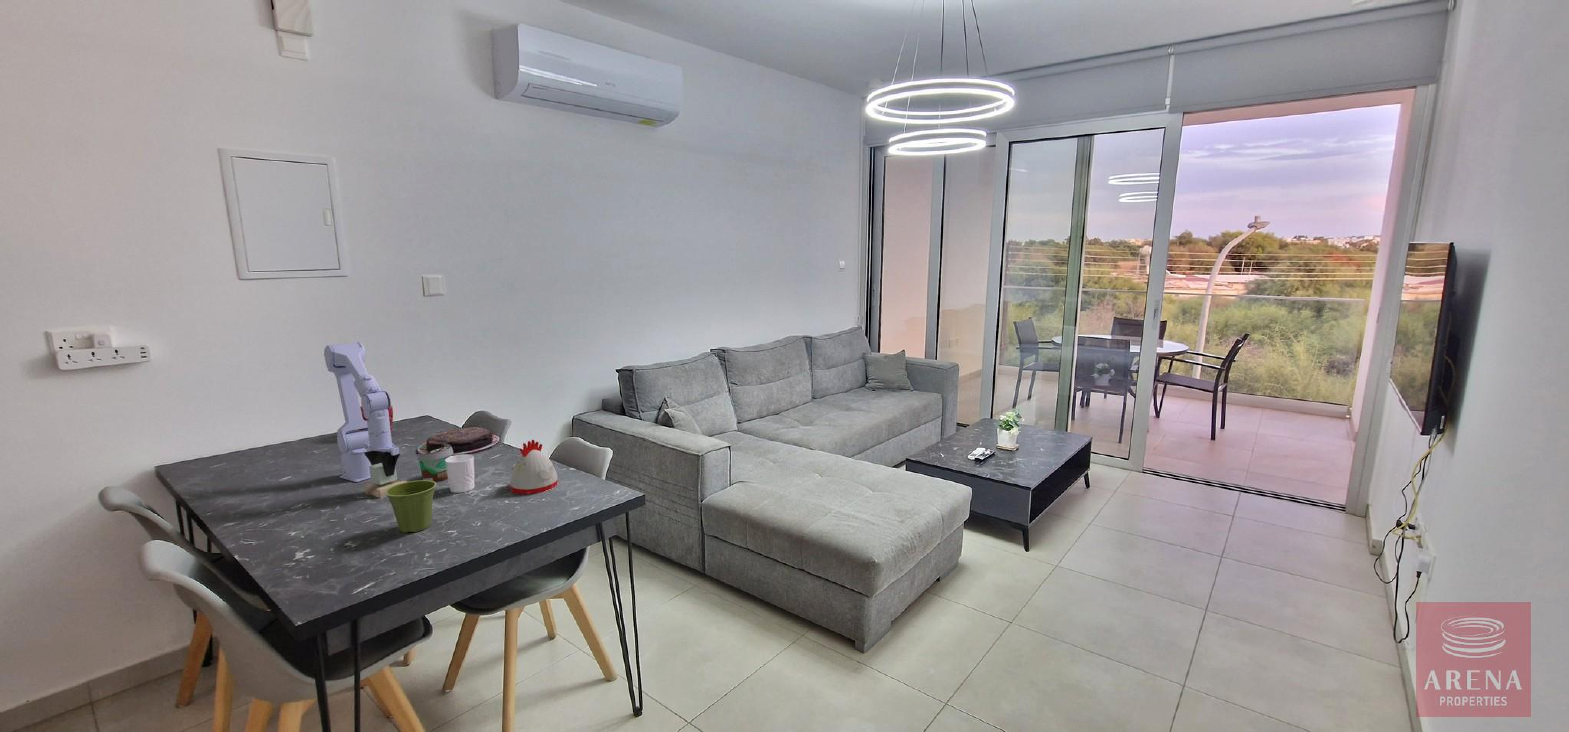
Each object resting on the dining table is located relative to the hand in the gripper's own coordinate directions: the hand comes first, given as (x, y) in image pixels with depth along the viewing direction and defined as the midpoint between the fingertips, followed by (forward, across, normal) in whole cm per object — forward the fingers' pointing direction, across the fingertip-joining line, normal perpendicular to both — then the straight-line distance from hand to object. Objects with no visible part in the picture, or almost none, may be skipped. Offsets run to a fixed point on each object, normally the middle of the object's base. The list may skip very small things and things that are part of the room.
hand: (384, 473), depth 191 cm
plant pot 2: (+6, +33, -12) cm, 36 cm away
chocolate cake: (+6, -22, +41) cm, 47 cm away
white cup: (+6, +19, +12) cm, 23 cm away
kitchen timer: (+6, +37, +24) cm, 44 cm away
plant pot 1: (+6, -64, +34) cm, 73 cm away
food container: (+6, +5, +15) cm, 17 cm away
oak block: (+6, 0, 0) cm, 6 cm away
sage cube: (+2, 0, 0) cm, 2 cm away
